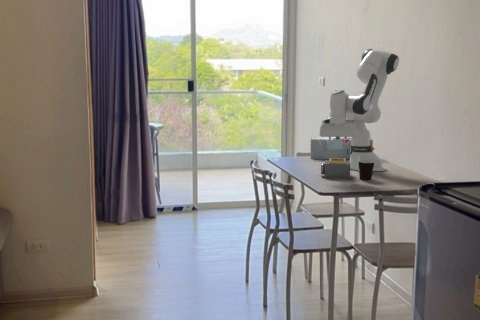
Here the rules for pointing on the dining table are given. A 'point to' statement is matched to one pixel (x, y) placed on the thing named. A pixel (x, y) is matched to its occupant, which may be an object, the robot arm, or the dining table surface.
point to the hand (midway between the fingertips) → (337, 144)
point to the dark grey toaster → (336, 168)
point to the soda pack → (330, 148)
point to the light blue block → (337, 143)
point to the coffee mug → (365, 169)
